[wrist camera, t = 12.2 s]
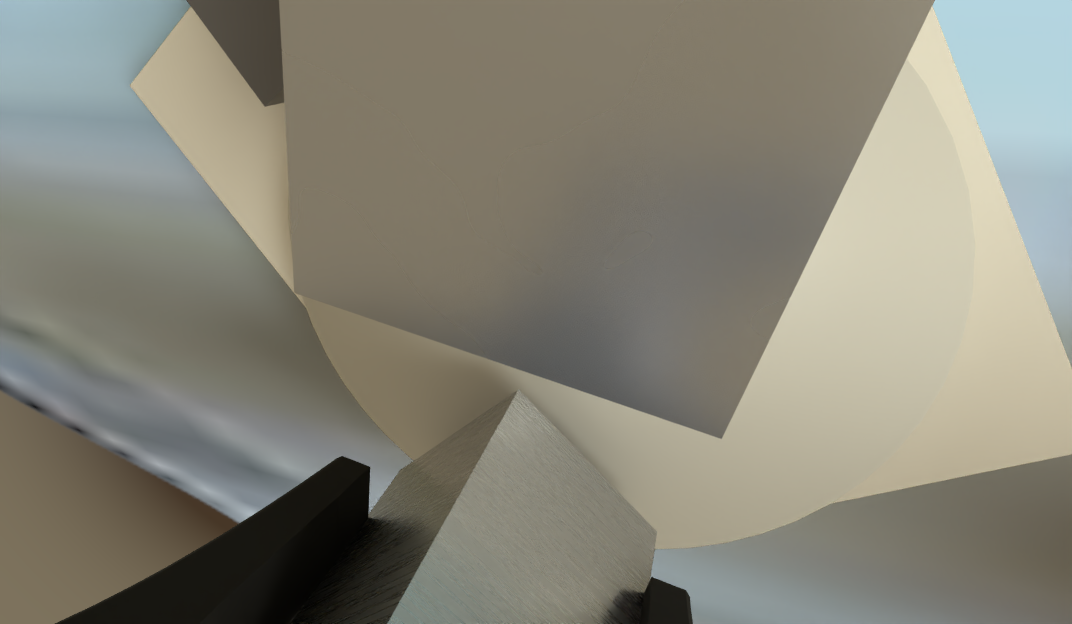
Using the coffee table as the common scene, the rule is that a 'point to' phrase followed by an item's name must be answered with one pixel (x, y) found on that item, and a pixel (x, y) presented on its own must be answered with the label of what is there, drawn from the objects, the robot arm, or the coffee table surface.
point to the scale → (792, 352)
